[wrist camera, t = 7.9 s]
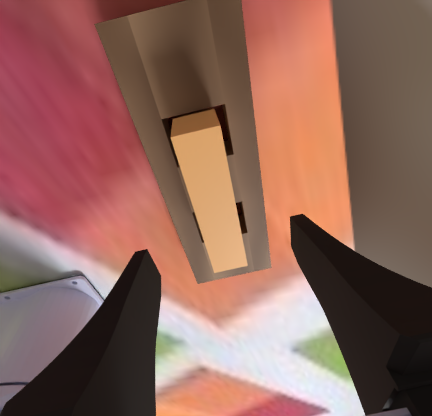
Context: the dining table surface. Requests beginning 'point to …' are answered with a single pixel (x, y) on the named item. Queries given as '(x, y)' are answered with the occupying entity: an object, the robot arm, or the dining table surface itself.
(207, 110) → the tan wooden beam
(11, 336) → the robot arm
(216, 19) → the rail
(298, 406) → the dining table surface
